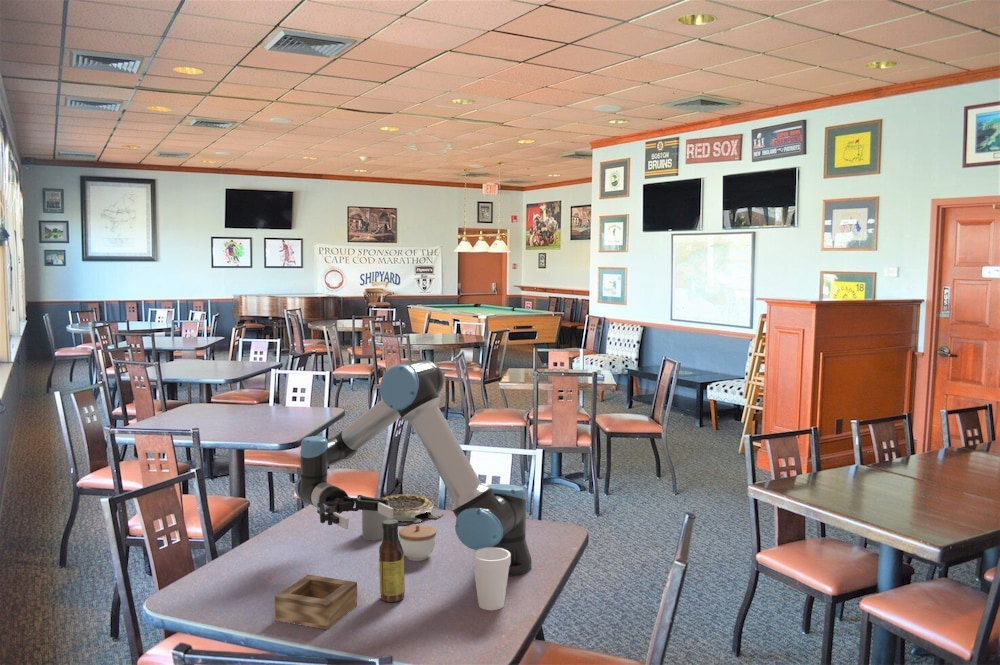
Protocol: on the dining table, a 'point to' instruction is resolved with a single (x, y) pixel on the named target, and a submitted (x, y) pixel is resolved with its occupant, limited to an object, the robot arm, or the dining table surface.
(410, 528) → the lidded jar
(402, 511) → the pie
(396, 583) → the sauce bottle
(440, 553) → the dining table surface
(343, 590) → the open wooden box
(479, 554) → the foam cup
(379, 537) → the cup
